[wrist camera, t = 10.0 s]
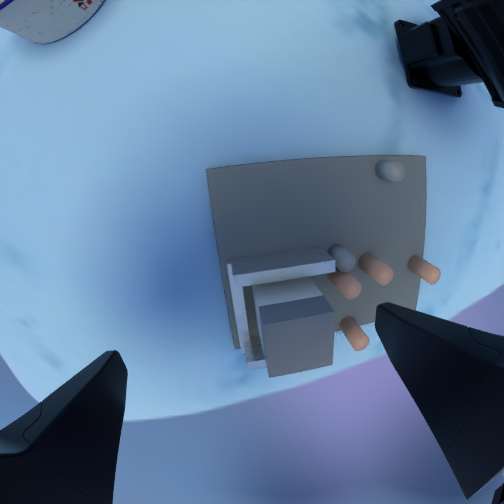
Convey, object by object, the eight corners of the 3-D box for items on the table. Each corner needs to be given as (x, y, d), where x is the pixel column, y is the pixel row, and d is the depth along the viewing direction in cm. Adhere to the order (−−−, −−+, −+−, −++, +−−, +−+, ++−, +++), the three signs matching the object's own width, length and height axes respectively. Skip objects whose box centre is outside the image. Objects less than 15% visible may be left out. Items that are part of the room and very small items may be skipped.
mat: (421, 155, 19) (425, 156, 19) (412, 307, 24) (415, 310, 23) (206, 169, 18) (206, 169, 18) (234, 345, 23) (234, 349, 22)
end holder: (320, 245, 20) (335, 260, 17) (321, 332, 23) (332, 354, 20) (226, 259, 20) (227, 276, 17) (240, 346, 22) (243, 371, 20)
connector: (307, 316, 22) (332, 364, 16) (257, 325, 22) (269, 377, 16) (305, 270, 21) (334, 311, 15) (251, 279, 21) (263, 324, 15)
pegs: (422, 160, 19) (446, 163, 16) (412, 312, 23) (430, 328, 21) (322, 162, 18) (339, 164, 16) (326, 334, 23) (339, 355, 20)
